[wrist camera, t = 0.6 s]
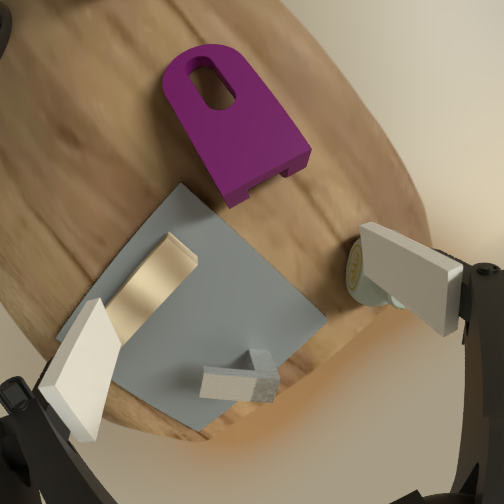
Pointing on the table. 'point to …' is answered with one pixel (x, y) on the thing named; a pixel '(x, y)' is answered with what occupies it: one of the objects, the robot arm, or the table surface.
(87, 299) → the slate board
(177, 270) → the brass bar
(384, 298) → the air freshener
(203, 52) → the mounting bracket
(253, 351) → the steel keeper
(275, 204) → the table surface
